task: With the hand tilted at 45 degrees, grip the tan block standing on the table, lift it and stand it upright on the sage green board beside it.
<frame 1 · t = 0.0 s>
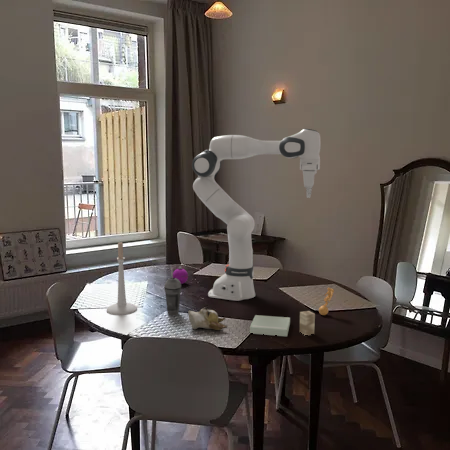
hand: (308, 196, 218), 48 cm above the table, fingers open, 8 cm apart
christmas ornament: (180, 284, 251), on the table
sage board: (270, 328, 188), on the table
ceramic sculpture: (207, 328, 188), on the table
figurine: (325, 315, 204), on the table
beverage cup: (173, 314, 204), on the table
candlestick: (122, 310, 209), on the table
tan block: (306, 333, 183), on the table
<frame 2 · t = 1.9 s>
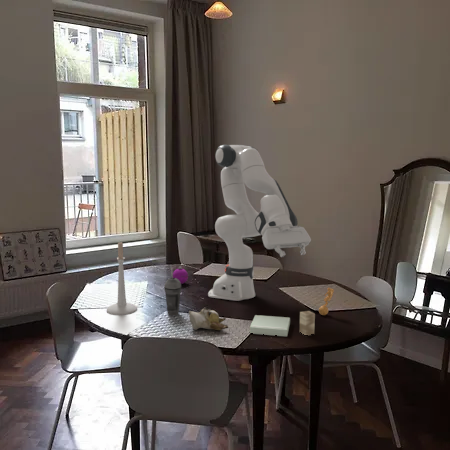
hand: (293, 255, 190), 28 cm above the table, fingers open, 8 cm apart
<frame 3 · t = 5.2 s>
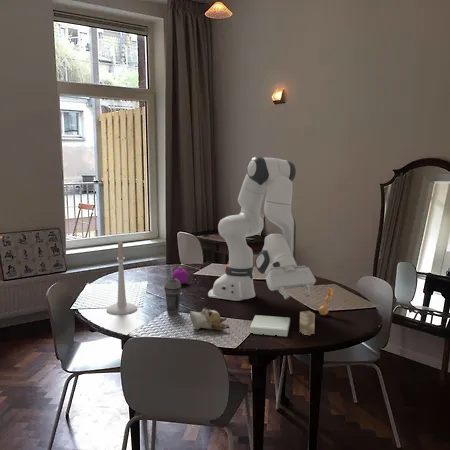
hand: (297, 297, 188), 12 cm above the table, fingers open, 8 cm apart
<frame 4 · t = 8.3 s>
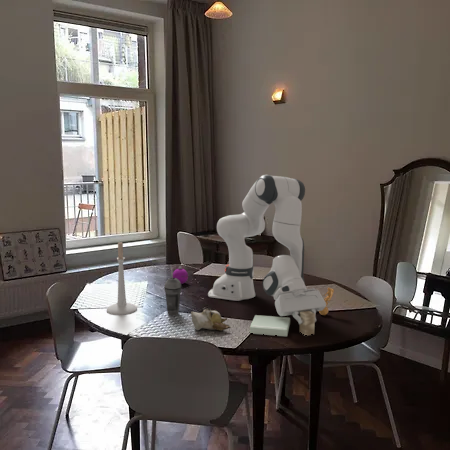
hand: (308, 322, 182), 4 cm above the table, fingers closed on tan block, 4 cm apart
tan block: (306, 333, 183), on the table, touching gripper
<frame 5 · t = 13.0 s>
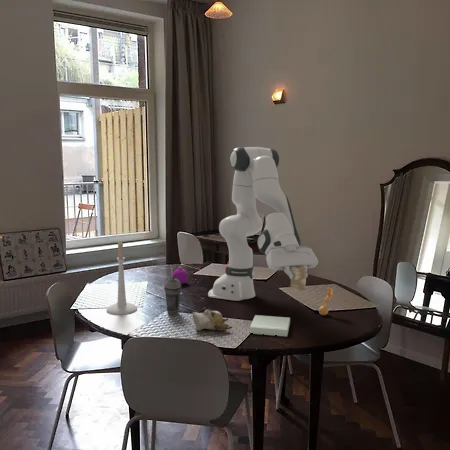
hand: (299, 277, 179), 22 cm above the table, fingers closed on tan block, 4 cm apart
tan block: (297, 288, 181), point 17 cm above the table, touching gripper
when the fingers open (8 cm above the table, at t = 17.9 s): tan block stays where it is, resting on sage board.
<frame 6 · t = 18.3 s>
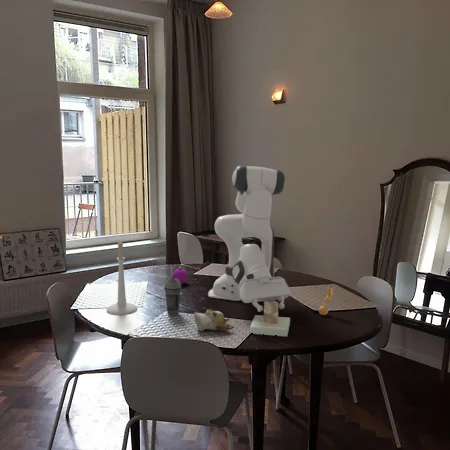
hand: (271, 309, 186), 8 cm above the table, fingers open, 8 cm apart
tan block: (270, 322, 187), point 2 cm above the table, touching sage board
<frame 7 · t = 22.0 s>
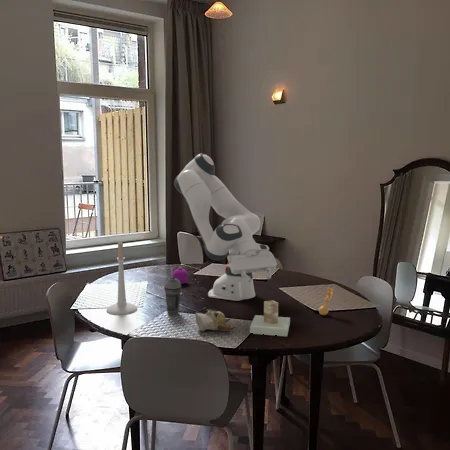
hand: (259, 279, 197), 16 cm above the table, fingers open, 8 cm apart
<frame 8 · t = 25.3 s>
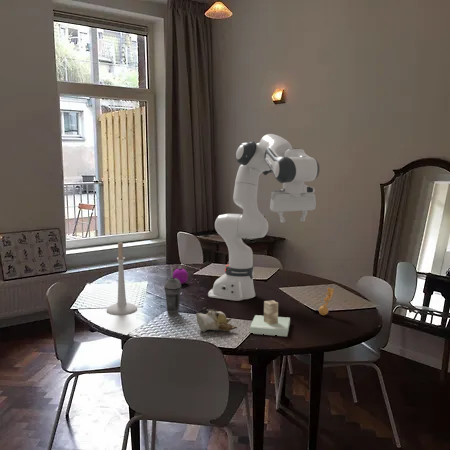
hand: (292, 221, 201), 39 cm above the table, fingers open, 8 cm apart
at the end: tan block inside the target area on the sage board (0.1 cm from its centre), point 2.5 cm above the sage board's base; tan block tilted 0°; the gripper is holding nothing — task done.
